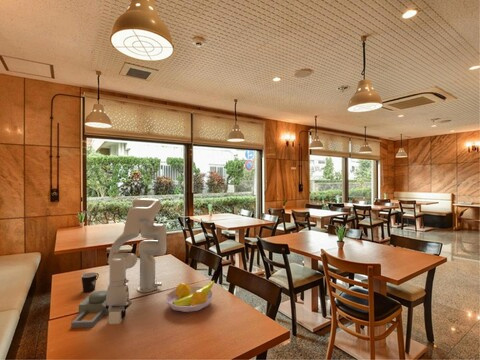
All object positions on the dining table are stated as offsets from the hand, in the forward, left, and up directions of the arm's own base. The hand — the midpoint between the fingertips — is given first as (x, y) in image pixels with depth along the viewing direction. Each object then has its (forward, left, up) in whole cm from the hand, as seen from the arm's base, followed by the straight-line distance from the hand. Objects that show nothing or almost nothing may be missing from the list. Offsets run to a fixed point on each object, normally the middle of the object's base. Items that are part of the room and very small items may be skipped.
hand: (117, 317), depth 134 cm
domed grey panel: (+14, -5, -1) cm, 15 cm away
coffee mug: (+30, -37, -1) cm, 48 cm away
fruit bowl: (-36, -13, -1) cm, 38 cm away
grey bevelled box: (0, 0, -1) cm, 1 cm away
